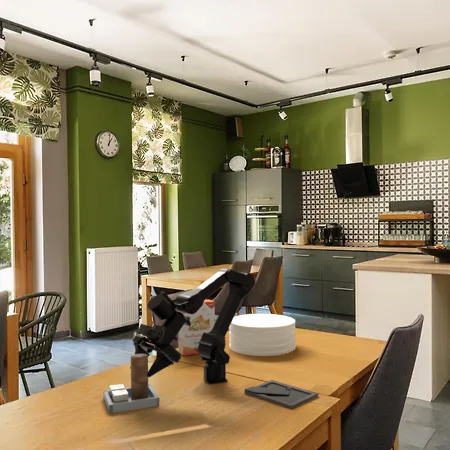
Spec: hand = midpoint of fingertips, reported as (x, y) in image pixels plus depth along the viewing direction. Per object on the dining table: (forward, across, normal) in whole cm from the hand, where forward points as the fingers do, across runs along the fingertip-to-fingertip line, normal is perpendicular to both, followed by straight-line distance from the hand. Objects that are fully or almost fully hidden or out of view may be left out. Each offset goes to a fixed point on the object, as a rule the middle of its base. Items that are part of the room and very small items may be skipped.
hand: (139, 372), depth 138 cm
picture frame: (-18, +24, +32) cm, 44 cm away
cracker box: (-26, -31, +39) cm, 56 cm away
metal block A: (+9, -4, +2) cm, 10 cm away
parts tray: (+8, -1, +4) cm, 9 cm away
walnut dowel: (+6, 0, +6) cm, 8 cm away
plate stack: (-44, -19, +58) cm, 75 cm away
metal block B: (+10, 0, +1) cm, 10 cm away
